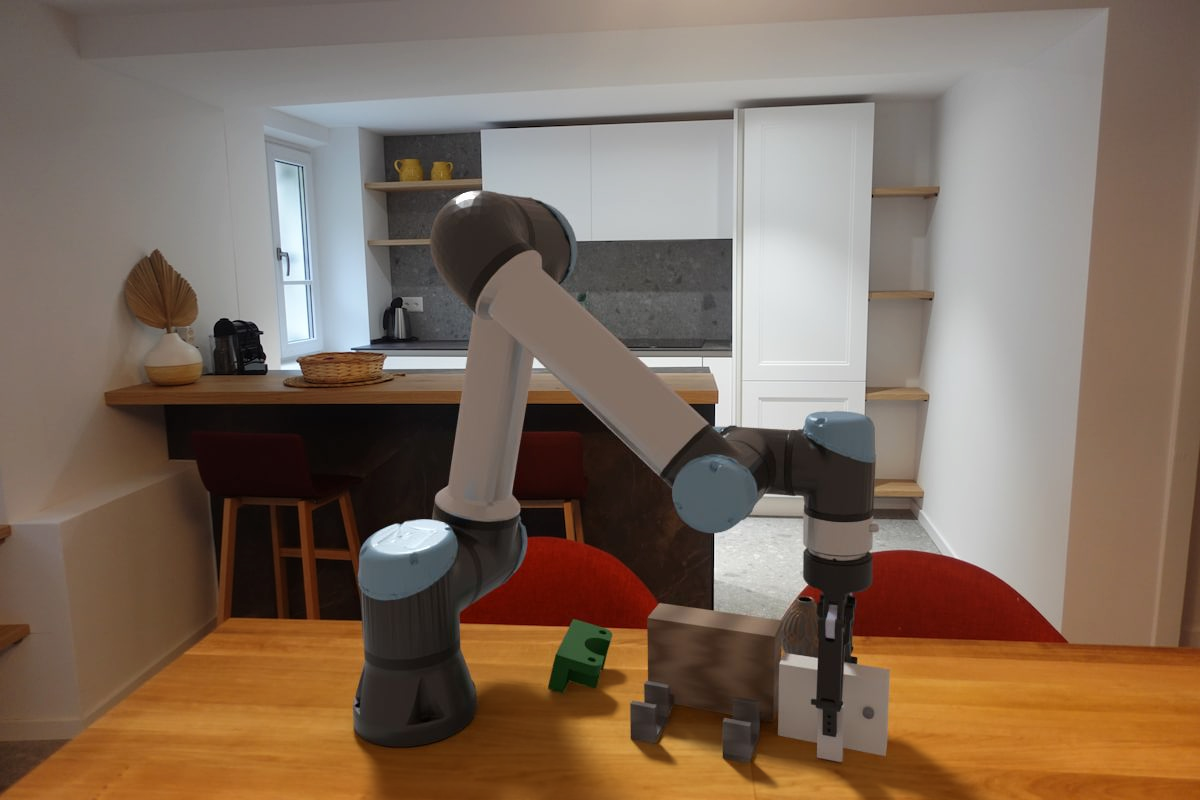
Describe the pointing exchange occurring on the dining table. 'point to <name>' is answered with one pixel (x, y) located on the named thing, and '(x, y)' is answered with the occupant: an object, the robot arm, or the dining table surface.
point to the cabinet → (710, 673)
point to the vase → (801, 628)
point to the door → (860, 699)
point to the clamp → (580, 656)
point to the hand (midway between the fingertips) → (834, 736)
